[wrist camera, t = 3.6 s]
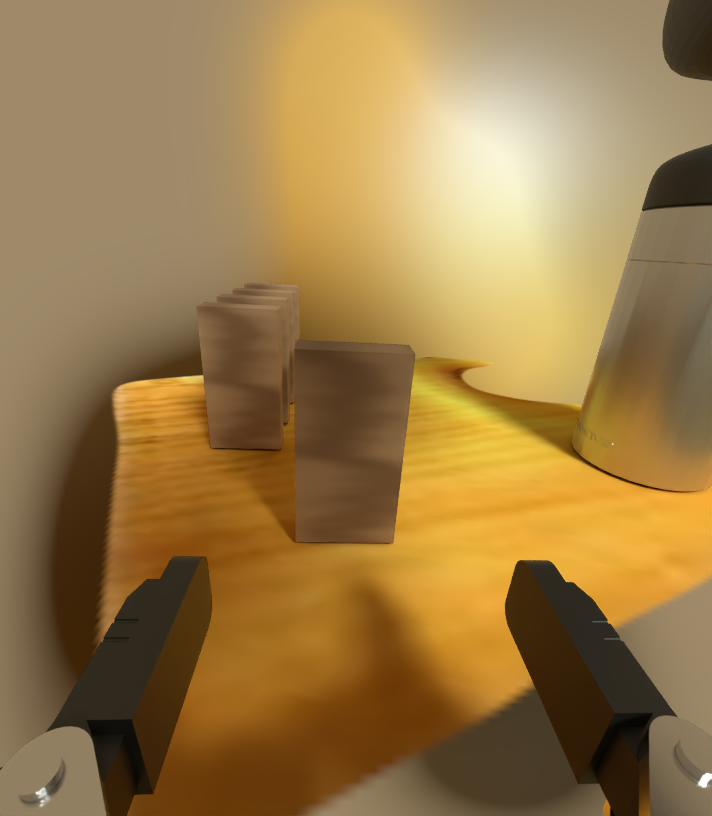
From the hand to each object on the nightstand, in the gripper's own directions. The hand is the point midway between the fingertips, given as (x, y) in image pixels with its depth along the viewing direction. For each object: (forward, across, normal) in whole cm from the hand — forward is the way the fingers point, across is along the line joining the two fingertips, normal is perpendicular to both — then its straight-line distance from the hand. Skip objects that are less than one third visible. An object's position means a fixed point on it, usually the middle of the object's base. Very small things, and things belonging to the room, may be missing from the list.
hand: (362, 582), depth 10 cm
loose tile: (+9, 0, +6) cm, 11 cm away
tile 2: (+18, +7, +6) cm, 21 cm away
